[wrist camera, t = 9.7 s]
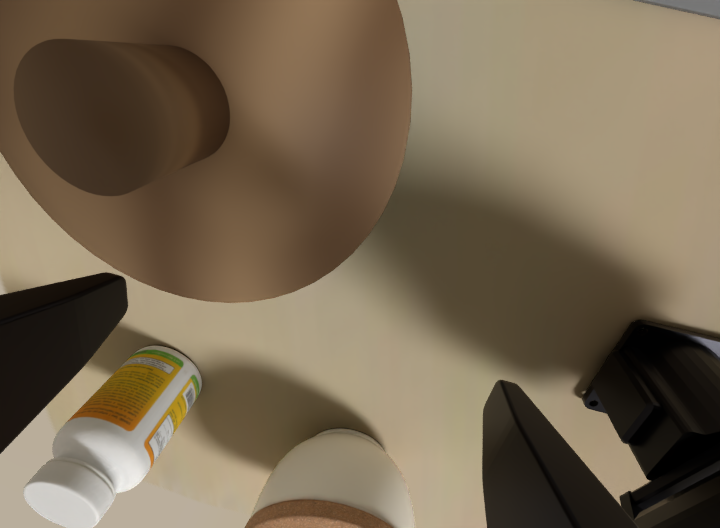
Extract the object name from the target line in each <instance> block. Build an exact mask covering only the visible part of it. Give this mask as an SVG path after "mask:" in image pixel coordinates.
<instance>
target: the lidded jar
mask: <svg viewBox="0 0 720 528" xmlns="http://www.w3.org/2000/svg"><path fill="white" fill-rule="evenodd" d="M245 528H415V518H414V510H413V506H412V501H411V496H410V492H409V489H408V486H407V484H406V481H405V479H404V477H403V475H402V473H401V471H400V469H399V468H398V466H397V465H396V463H395V462H394V461H393V460H392V458H391V457H390V456H389V455H388V454H387V453H386V452H385V451H384V449H383V448H382V446H381V445H380V444H379V443H378V442H377V441H376V440H374V439H373V438H372V437H370V436H368V435H366V434H364V433H362V432H359V431H356V430H351V429H343V428H336V429H329V430H325V431H323V432H320V433H318V434H317V435H316V436H314V437H312V438H310V439H308V440H306V441H303V442H301V443H300V444H298V445H297V446H296V447H294V448H293V449H292V450H290V451H289V452H288V453H287V454H286V455H285V456H284V457H283V459H282V460H281V461H280V462H279V463H278V464H277V465H276V467H275V469H274V470H273V472H272V473H271V475H270V476H269V478H268V480H267V482H266V484H265V486H264V487H263V489H262V491H261V493H260V495H259V498H258V500H257V502H256V505H255V507H254V510H253V512H252V515H251V518H250V519H249V521H248V523H247V525H246V526H245Z"/></svg>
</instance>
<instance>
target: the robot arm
mask: <svg viewBox="0 0 720 528" xmlns="http://www.w3.org/2000/svg"><path fill="white" fill-rule="evenodd" d="M127 308H128V299H127V287H126V281H125V279H124V278H123V277H122V276H119V275H116V274H112V273H107V272H105V273H100V274H95V275H91V276H86V277H81V278H77V279H72V280H68V281H63V282H58V283H54V284H49V285H45V286H40V287H35V288H31V289H26V290H22V291H17V292H12V293H8V294H3V295H0V454H1V453H2V452H3V451H4V449H5V448H6V447H7V446H8V445H9V444H10V443H11V442H12V441H13V440H14V439H15V438H16V437H17V436H18V435H19V434H20V433H21V432H22V431H23V430H24V429H25V428H26V427H27V425H28V424H29V423H30V422H31V421H32V420H33V419H34V418H35V417H36V416H37V415H38V414H39V413H40V412H41V411H42V410H43V409H44V408H45V407H46V406H47V405H48V404H49V403H50V401H51V400H52V399H53V398H54V397H55V396H56V395H57V394H58V393H59V392H60V391H61V390H62V389H63V388H64V387H65V386H66V385H67V384H68V383H69V382H70V381H71V380H72V379H73V377H74V376H75V375H76V374H77V373H78V372H79V371H80V370H81V369H82V368H83V367H84V366H85V364H86V363H87V362H88V361H89V360H90V358H91V357H92V356H93V355H94V353H95V352H96V351H97V350H98V348H99V347H100V346H101V344H102V343H103V342H104V341H105V339H106V338H107V337H108V336H109V334H110V333H111V332H112V330H113V329H114V328H115V327H116V325H117V324H118V323H119V322H120V320H121V319H122V318H123V316H124V315H125V313H126V311H127ZM642 328H644V329H643V330H642V331H638V330H639V329H642ZM582 400H583V403H584V405H585V406H586V407H587V408H588V409H591V410H595V411H599V412H603V413H607V414H608V416H609V418H610V420H611V422H612V424H613V426H614V428H615V430H616V431H617V433H618V435H619V437H620V439H621V441H622V442H623V443H625V444H628V445H629V447H630V448H631V450H632V452H633V454H634V456H635V458H636V460H637V461H638V463H639V465H640V467H641V469H642V471H643V472H644V474H645V476H646V478H647V479H648V480H650V482H649V483H647V484H645V485H643V486H642V487H640V488H638V489H636V490H635V491H633V492H631V491H628V492H626V493H625V494H623V495H621V496H620V502H621V506H620V505H619V503H618V502H617V501H616V500H615V499H614V497H613V496H612V495H611V494H610V493H609V492H608V490H607V489H606V488H605V487H604V486H603V485H602V483H601V482H600V481H599V480H598V479H597V477H596V476H595V475H594V474H593V473H592V472H591V470H590V469H589V468H588V467H587V466H586V464H585V463H584V462H583V461H582V460H581V459H580V457H579V456H578V455H577V454H576V453H575V452H574V450H573V449H572V448H571V447H570V446H569V444H568V443H567V442H566V441H565V440H564V439H563V437H562V436H561V435H560V434H559V433H558V432H557V430H556V429H555V428H554V427H553V426H552V424H551V423H550V422H549V421H548V420H547V419H546V417H545V416H544V415H543V414H542V413H541V411H540V410H539V409H538V408H537V407H536V406H535V404H534V403H533V402H532V401H531V400H530V399H529V397H528V396H527V395H526V394H525V393H524V391H523V390H522V389H521V388H520V387H519V386H518V385H517V384H515V383H512V382H508V381H504V380H499V381H497V382H496V384H495V385H494V387H493V389H492V391H491V393H490V395H489V397H488V399H487V401H486V404H485V406H484V410H483V455H482V479H483V492H484V502H485V512H486V521H487V528H720V339H719V338H715V337H711V336H707V335H703V334H698V333H694V332H690V331H686V330H682V329H678V328H674V327H670V326H666V325H661V324H657V323H653V322H649V321H645V320H638V321H635V322H633V323H632V324H631V325H630V326H629V327H628V329H627V331H626V332H625V334H624V335H623V337H622V338H621V340H620V341H619V343H618V344H617V346H616V347H615V349H614V350H613V352H612V353H611V354H610V355H609V357H608V358H607V360H606V362H605V363H604V365H603V366H602V368H601V369H600V371H599V372H598V374H597V375H596V377H595V378H594V380H593V381H592V384H591V385H590V387H589V388H588V390H587V391H586V393H585V394H584V396H583V398H582ZM593 400H594V401H593Z"/></svg>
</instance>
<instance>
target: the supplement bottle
mask: <svg viewBox="0 0 720 528" xmlns="http://www.w3.org/2000/svg"><path fill="white" fill-rule="evenodd" d="M201 388H202V379H201V375H200V373H199V371H198V369H197V368H196V366H195V365H194V364H193V363H192V362H191V361H190V360H189V359H188V358H187V357H185V356H184V355H183V354H181V353H179V352H177V351H175V350H173V349H170V348H167V347H163V346H148V347H144V348H141V349H139V350H138V351H136V352H135V353H134V354H133V355H132V356H131V357H130V358H129V359H128V360H127V361H126V362H125V363H124V364H123V365H122V366H121V367H120V368H119V369H118V370H117V371H116V372H115V373H114V374H113V375H112V376H111V377H110V378H109V379H108V380H107V381H106V382H105V383H104V384H103V385H102V387H101V388H100V389H99V390H98V391H97V392H96V393H95V394H94V395H93V396H92V397H91V398H90V399H89V400H88V401H87V402H86V403H85V404H84V405H83V406H82V407H81V408H80V409H79V410H78V411H77V412H76V413H75V414H74V415H73V416H72V417H71V418H70V419H69V420H68V421H67V422H66V423H65V425H64V426H63V427H62V428H61V429H60V430H59V432H58V433H57V435H56V437H55V439H54V442H53V455H54V458H53V459H51V460H49V461H48V462H47V463H46V464H45V465H43V466H42V467H41V468H40V470H39V471H38V472H37V473H36V474H35V475H34V476H33V478H32V479H31V480H30V481H29V482H28V483H27V484H26V486H25V487H24V491H23V494H24V498H25V500H26V501H27V503H28V504H29V505H30V506H31V507H32V508H33V509H34V510H35V511H36V512H37V513H38V514H40V515H41V516H43V517H44V518H46V519H48V520H50V521H51V522H54V523H56V524H58V525H61V526H64V527H67V528H92V527H94V526H95V525H96V524H97V523H98V522H99V521H100V519H101V518H102V517H103V515H104V514H105V512H106V511H107V510H108V508H109V507H110V506H111V505H112V503H113V500H114V498H115V495H116V493H121V492H124V491H127V490H130V489H132V488H133V487H135V486H136V485H138V484H139V483H140V482H141V481H142V480H143V478H144V477H145V476H146V474H147V473H148V472H149V470H150V468H151V467H152V466H153V464H154V462H155V461H156V459H157V458H158V456H159V455H160V453H161V452H162V450H163V449H164V447H165V446H166V444H167V443H168V441H169V440H170V438H171V437H172V435H173V434H174V432H175V431H176V429H177V428H178V426H179V425H180V423H181V422H182V420H183V419H184V417H185V416H186V414H187V413H188V411H189V409H190V408H191V407H192V405H193V404H194V402H195V400H196V399H197V397H198V395H199V394H200V391H201Z"/></svg>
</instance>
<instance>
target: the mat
mask: <svg viewBox="0 0 720 528" xmlns="http://www.w3.org/2000/svg"><path fill="white" fill-rule="evenodd" d="M634 1H639V2H643V3H648V4H653V5H657V6H662V7H666V8H671V9H675V10H680V11H684V12H689V13H694V14H698V15H703V16H707V17H712V18H716V19H720V0H634Z"/></svg>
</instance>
